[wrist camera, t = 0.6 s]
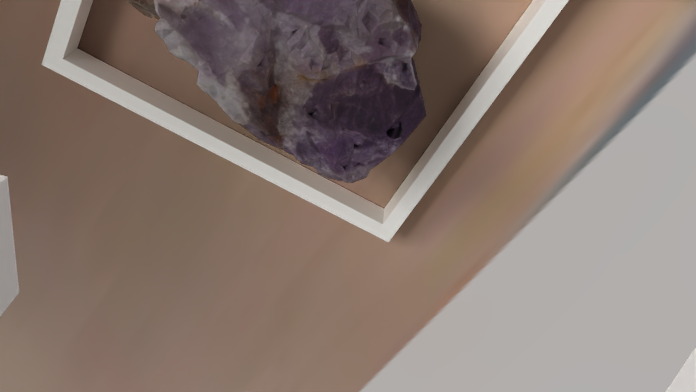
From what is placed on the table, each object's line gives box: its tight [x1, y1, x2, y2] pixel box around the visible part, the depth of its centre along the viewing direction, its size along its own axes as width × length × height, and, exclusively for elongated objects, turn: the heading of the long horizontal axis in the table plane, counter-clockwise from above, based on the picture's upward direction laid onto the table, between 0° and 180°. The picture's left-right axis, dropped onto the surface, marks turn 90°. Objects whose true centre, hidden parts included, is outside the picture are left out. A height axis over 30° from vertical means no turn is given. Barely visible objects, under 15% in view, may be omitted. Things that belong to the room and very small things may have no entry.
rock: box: [126, 0, 426, 183], centre depth 25 cm, size 12×9×10 cm
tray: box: [42, 0, 569, 242], centre depth 28 cm, size 19×17×2 cm
